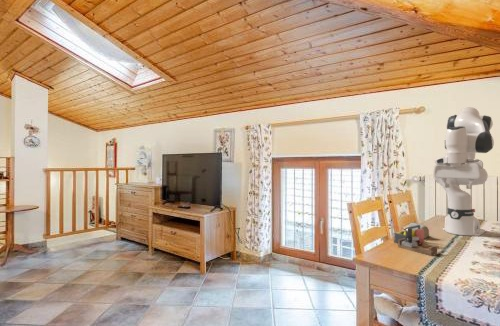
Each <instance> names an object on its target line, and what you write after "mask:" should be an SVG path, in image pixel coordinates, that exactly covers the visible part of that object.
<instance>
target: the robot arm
mask: <svg viewBox="0 0 500 326" xmlns="http://www.w3.org/2000/svg"><path fill="white" fill-rule="evenodd" d="M493 125H494V124H493V119H492V116H489V115H486V114H485V115H480V112H479V110H478V109H477V108H476V107H471V106H470V107H465V108H463V109H461V110H460V111H459V112H458V113H457V114H454V115H450V116H449V117H448V118H447V120H446V122H445V126H446V132H445V140H444V149H445V151H446V152H445V156H442V157H439V158H436V159H435V160H434V163H435V165H434V166H433V174H432V175H433V179H434V181H435V182H436V183H437V184H439V185H440V186H441V187H442V188H443V190H444V191H445V193H446V195H447V205H448V206H447V210H446V211H447V215H446V216H445V218H444V227H442V230H443V231H445V232H446V233H448V234H452V235H460V236H475V237H481V236H482V235H483V234H484V233H486V229H482V228H481V222H480V220H479V219H477V217H476V216H475V214H474V213H476V209H475V208H473V204H472V200H473V199H472V196H471V195H470V193H469V192H466V191H465V190H463V189H462V188H460V186H465V188H466V190H472V189H473V187H472V186H477V185H478V186H479V185H484V184H485V182H486V181H488V177H489V176H488V172H487V170H486V169H485V168H484V163H483V161H482V160H481V159H478V158H476V153H478V154H487V153H488V152H490V151H492V150H493V148H494V144H495V142H494V138H493V135H492V134H491V129H492V127H493Z"/></svg>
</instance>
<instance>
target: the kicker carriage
mask: <svg viewBox="0 0 500 326" xmlns="http://www.w3.org/2000/svg"><path fill="white" fill-rule="evenodd" d="M405 228H406V240H404V241H402V245H403V246H407V247H411V248H413V247H416V246H418V245H421V244H425V238H424V229H416V230H415V236H414V237H412V228H407V227H405ZM414 241H416V242H414Z"/></svg>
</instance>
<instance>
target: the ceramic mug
mask: <svg viewBox="0 0 500 326" xmlns="http://www.w3.org/2000/svg"><path fill="white" fill-rule="evenodd" d="M416 225H420V229H424V239H427V238H428V237H430V231H429V230H430V229H429V228H428V227H427V226H426V225H423V224H419V223H415V222H410V223H409V225H408V226H407V227H411V226H416ZM416 229H418V227H417V228H413V229H412V230H414V231H415V230H416Z"/></svg>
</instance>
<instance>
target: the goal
mask: <svg viewBox="0 0 500 326" xmlns="http://www.w3.org/2000/svg"><path fill="white" fill-rule="evenodd" d="M420 225H421V224H420ZM420 225H416V226H411V227H408V226H407V227H404V228H405V230H400V231H397V232H394V233H393V243H394V244H398V240H399V239H403V238H405V239H406V228H412V229H413V228H417V227H418V229H420ZM404 232H405V235H403V234H404Z"/></svg>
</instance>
